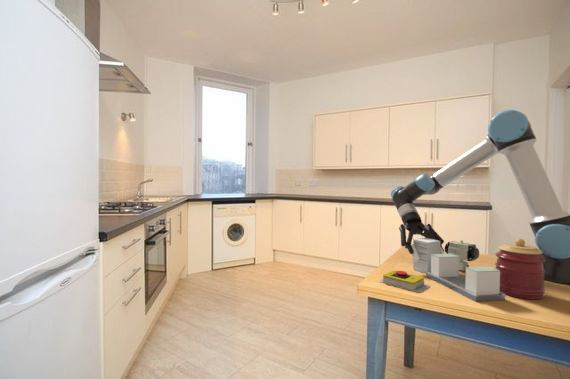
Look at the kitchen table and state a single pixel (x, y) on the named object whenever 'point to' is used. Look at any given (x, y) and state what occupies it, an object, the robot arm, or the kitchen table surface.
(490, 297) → the mounting rail
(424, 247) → the grey ridged module
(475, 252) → the pneumatic valve
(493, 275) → the grey module pair
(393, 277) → the emergency button
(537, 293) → the canister
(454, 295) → the kitchen table surface
